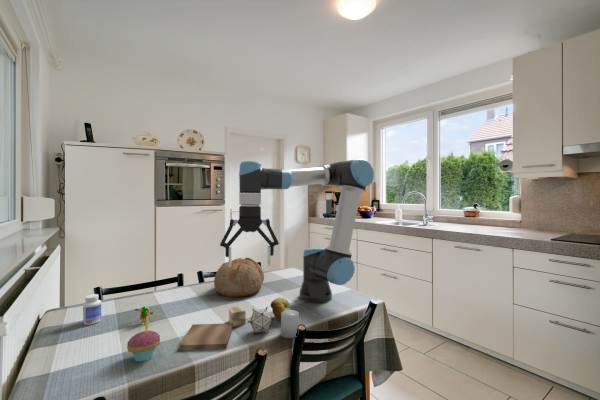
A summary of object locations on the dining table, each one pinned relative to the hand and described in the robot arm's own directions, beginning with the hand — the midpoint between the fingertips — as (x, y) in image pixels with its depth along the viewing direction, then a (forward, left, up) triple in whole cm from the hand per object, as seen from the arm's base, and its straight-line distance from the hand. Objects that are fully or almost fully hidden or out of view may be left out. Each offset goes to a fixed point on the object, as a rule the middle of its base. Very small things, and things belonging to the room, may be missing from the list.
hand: (249, 265), depth 102 cm
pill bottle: (+58, -9, -23) cm, 63 cm away
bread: (+8, -43, -23) cm, 49 cm away
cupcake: (+29, +16, -23) cm, 40 cm away
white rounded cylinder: (-14, +5, -22) cm, 27 cm away
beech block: (+5, -5, -23) cm, 24 cm away
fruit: (-11, -7, -23) cm, 26 cm away
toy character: (+38, -7, -23) cm, 45 cm away
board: (+13, +6, -22) cm, 27 cm away
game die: (-4, +3, -23) cm, 23 cm away
